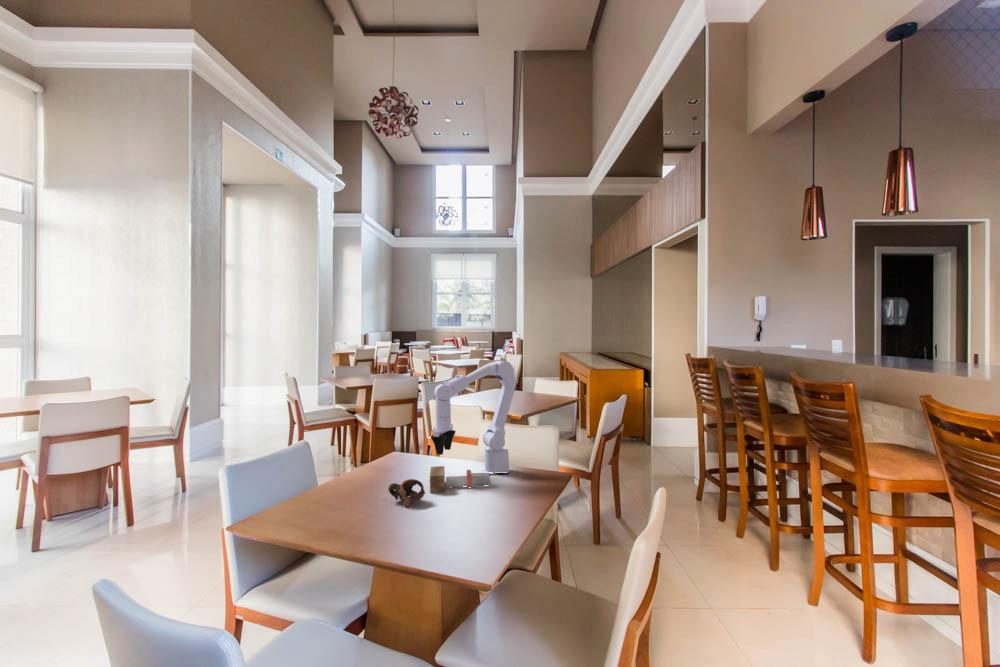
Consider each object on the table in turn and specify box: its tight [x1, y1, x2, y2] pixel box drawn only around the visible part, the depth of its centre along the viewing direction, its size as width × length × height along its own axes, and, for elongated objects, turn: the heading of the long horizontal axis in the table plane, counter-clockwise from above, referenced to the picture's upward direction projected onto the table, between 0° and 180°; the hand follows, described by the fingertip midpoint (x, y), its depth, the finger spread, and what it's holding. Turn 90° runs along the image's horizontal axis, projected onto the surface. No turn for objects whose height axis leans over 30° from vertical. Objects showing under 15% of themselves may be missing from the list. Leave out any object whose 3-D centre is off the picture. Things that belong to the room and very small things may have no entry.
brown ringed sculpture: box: [388, 478, 426, 508], centre depth 154 cm, size 12×10×8 cm
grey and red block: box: [445, 469, 491, 489], centre depth 171 cm, size 16×6×5 cm, turn 97°
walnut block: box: [429, 465, 446, 494], centre depth 169 cm, size 5×12×6 cm, turn 7°
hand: (443, 451), depth 181 cm, fingers open, 7 cm apart
